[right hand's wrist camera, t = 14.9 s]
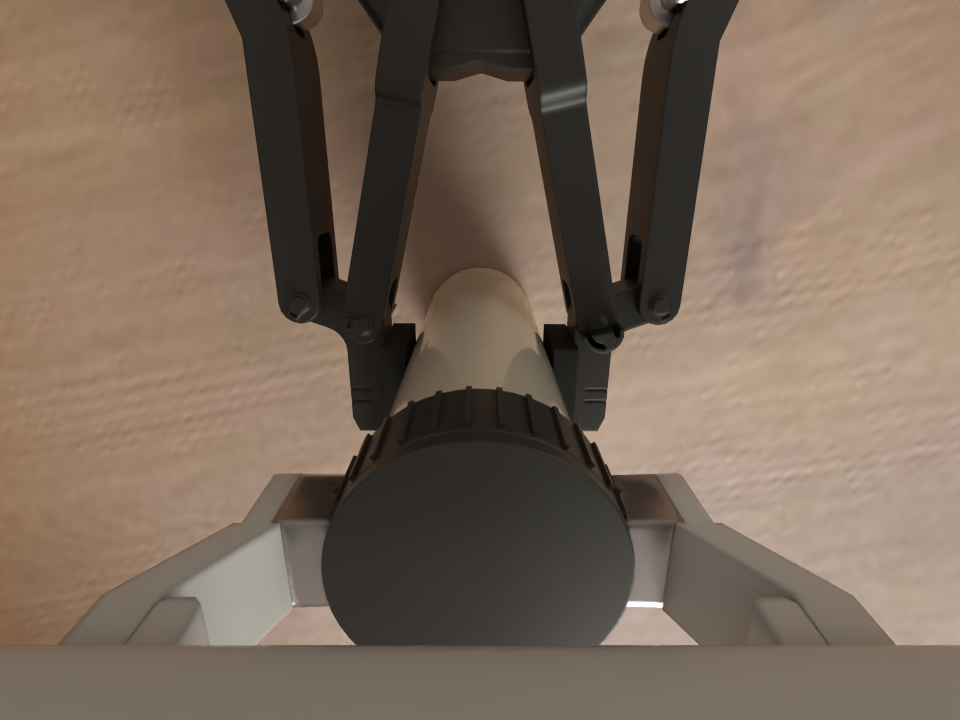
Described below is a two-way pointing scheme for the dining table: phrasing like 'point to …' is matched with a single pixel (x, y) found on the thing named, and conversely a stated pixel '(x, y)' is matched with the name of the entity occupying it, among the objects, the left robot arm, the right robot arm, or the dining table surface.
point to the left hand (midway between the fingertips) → (478, 502)
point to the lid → (478, 529)
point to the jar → (479, 343)
